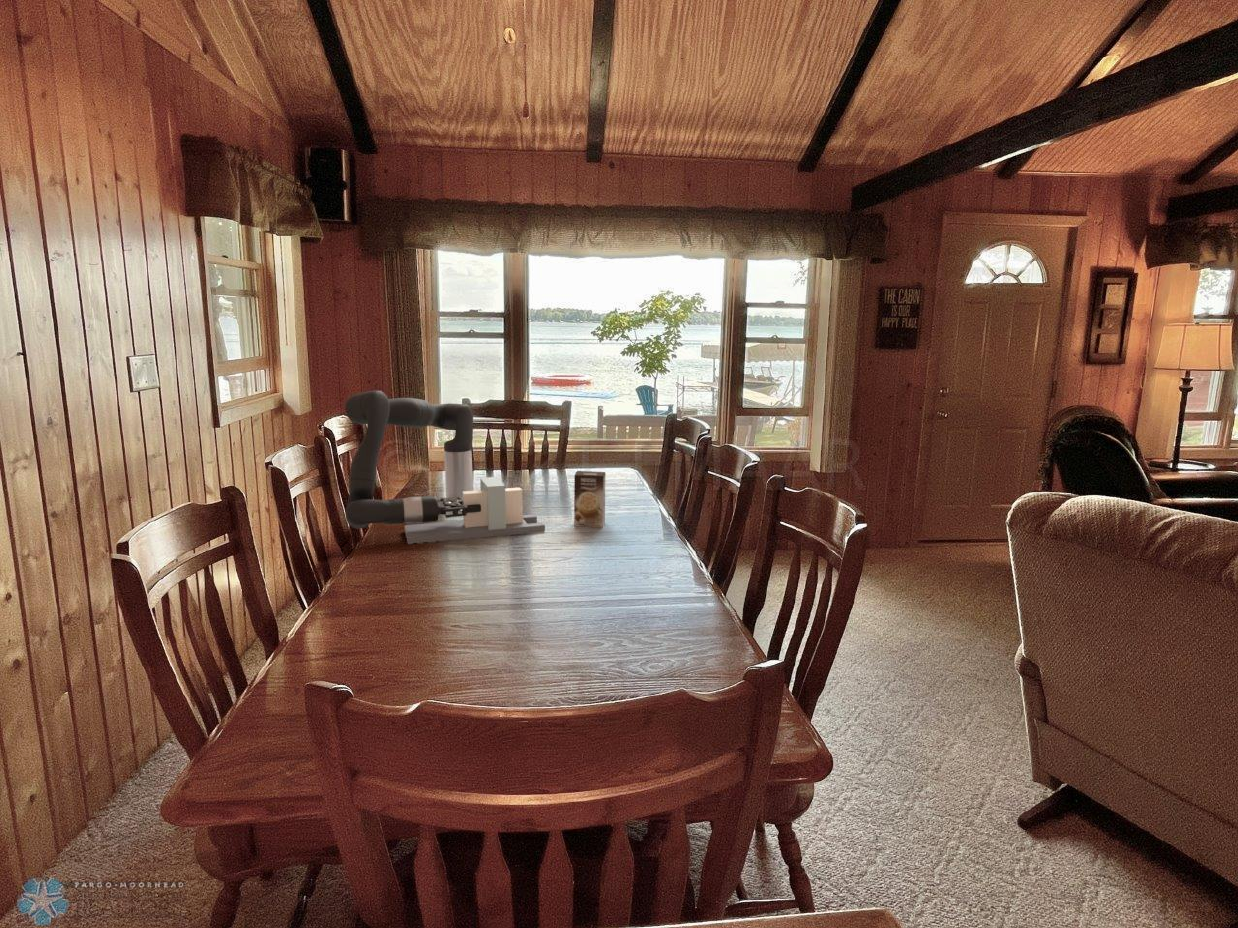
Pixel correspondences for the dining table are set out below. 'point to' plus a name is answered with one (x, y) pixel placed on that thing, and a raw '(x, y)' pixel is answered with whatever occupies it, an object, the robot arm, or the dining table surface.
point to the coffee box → (589, 499)
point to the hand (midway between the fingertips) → (478, 505)
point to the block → (480, 497)
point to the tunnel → (495, 502)
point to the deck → (467, 530)
